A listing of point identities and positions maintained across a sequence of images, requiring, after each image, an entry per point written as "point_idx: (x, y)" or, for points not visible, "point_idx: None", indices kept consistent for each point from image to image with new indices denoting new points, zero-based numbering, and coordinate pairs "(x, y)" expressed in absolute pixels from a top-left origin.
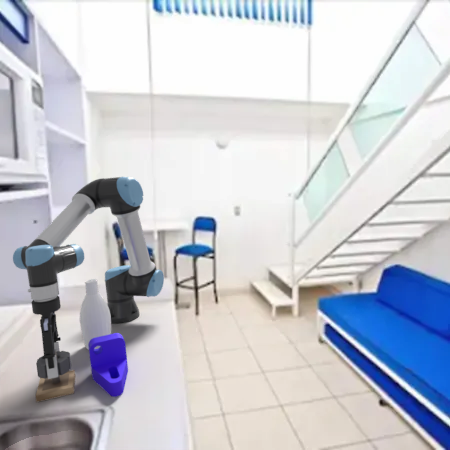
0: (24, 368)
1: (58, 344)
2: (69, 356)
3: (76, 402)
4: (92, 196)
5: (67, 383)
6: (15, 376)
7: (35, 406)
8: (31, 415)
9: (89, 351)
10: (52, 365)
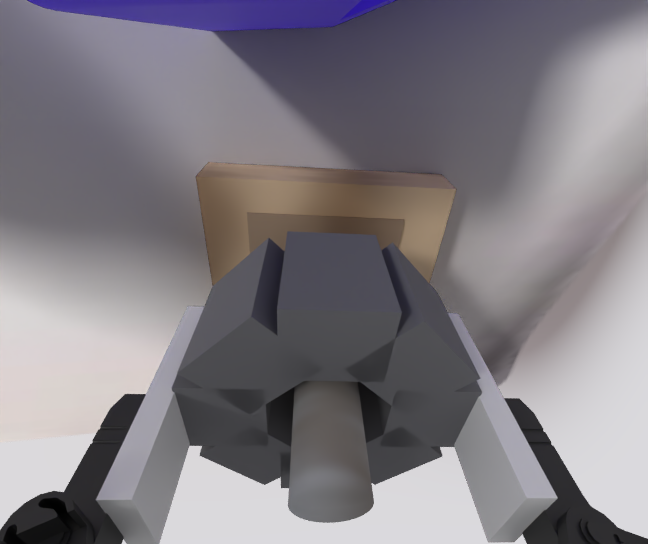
0: (46, 388)
1: (138, 469)
2: (359, 302)
3: (555, 161)
4: None
5: (387, 223)
6: None
7: None
8: (495, 334)
9: (252, 8)
10: (535, 431)
